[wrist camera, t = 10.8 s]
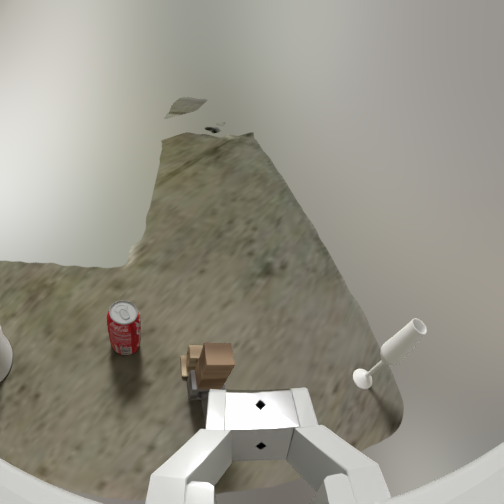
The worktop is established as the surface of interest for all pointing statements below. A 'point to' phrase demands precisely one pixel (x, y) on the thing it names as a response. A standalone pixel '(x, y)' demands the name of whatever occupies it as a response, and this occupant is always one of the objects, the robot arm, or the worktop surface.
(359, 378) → the champagne flute
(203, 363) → the slider
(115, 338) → the soda can
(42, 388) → the worktop surface
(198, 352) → the stand
